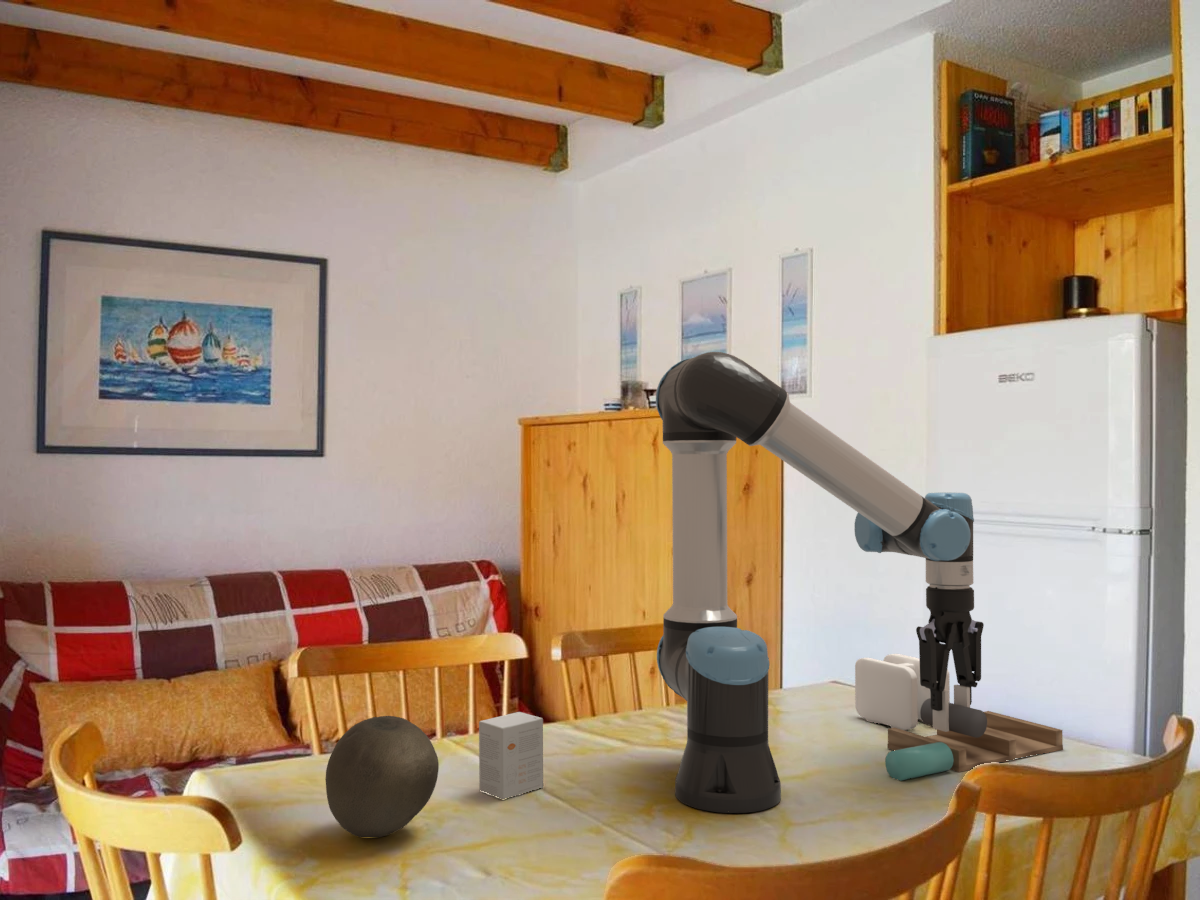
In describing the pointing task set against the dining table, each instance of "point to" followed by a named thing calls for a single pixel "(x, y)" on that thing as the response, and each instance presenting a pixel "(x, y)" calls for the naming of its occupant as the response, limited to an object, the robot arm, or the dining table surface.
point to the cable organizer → (891, 690)
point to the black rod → (958, 719)
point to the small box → (511, 754)
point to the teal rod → (919, 761)
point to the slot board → (993, 756)
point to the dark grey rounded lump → (380, 776)
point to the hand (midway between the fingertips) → (951, 727)
